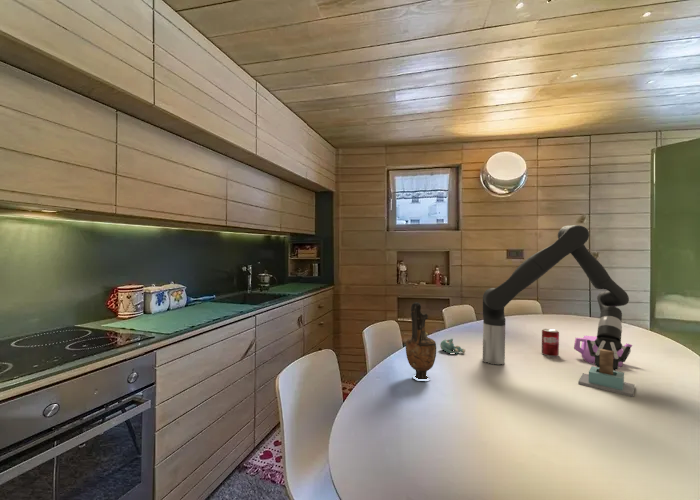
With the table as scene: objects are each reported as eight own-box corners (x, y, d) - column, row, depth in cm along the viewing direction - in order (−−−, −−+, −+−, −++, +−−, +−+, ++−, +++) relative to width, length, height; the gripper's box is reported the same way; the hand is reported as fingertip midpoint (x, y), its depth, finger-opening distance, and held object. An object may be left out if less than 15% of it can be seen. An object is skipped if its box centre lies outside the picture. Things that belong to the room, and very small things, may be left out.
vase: (441, 378, 129) (442, 301, 129) (424, 387, 120) (426, 304, 120) (415, 370, 137) (416, 298, 137) (397, 378, 128) (399, 301, 128)
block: (599, 378, 126) (599, 350, 126) (599, 377, 128) (600, 348, 128) (612, 381, 124) (613, 352, 124) (613, 380, 125) (613, 351, 125)
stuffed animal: (465, 346, 156) (440, 337, 162) (462, 360, 157) (437, 351, 162) (468, 340, 166) (444, 333, 171) (465, 354, 167) (441, 346, 172)
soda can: (561, 357, 159) (561, 332, 159) (544, 356, 160) (545, 331, 160) (555, 353, 166) (555, 329, 166) (539, 352, 167) (539, 328, 167)
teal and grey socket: (578, 383, 127) (578, 370, 127) (582, 375, 136) (583, 363, 136) (633, 396, 116) (633, 382, 116) (634, 386, 125) (634, 373, 125)
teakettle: (570, 357, 159) (571, 332, 159) (592, 354, 166) (593, 329, 166) (610, 369, 144) (611, 341, 144) (633, 365, 151) (633, 337, 151)
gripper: (587, 321, 136) (582, 357, 127) (632, 327, 127) (630, 367, 118) (588, 332, 140) (583, 368, 131) (632, 339, 131) (631, 378, 122)
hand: (606, 367), depth 124 cm, fingers open, 4 cm apart
